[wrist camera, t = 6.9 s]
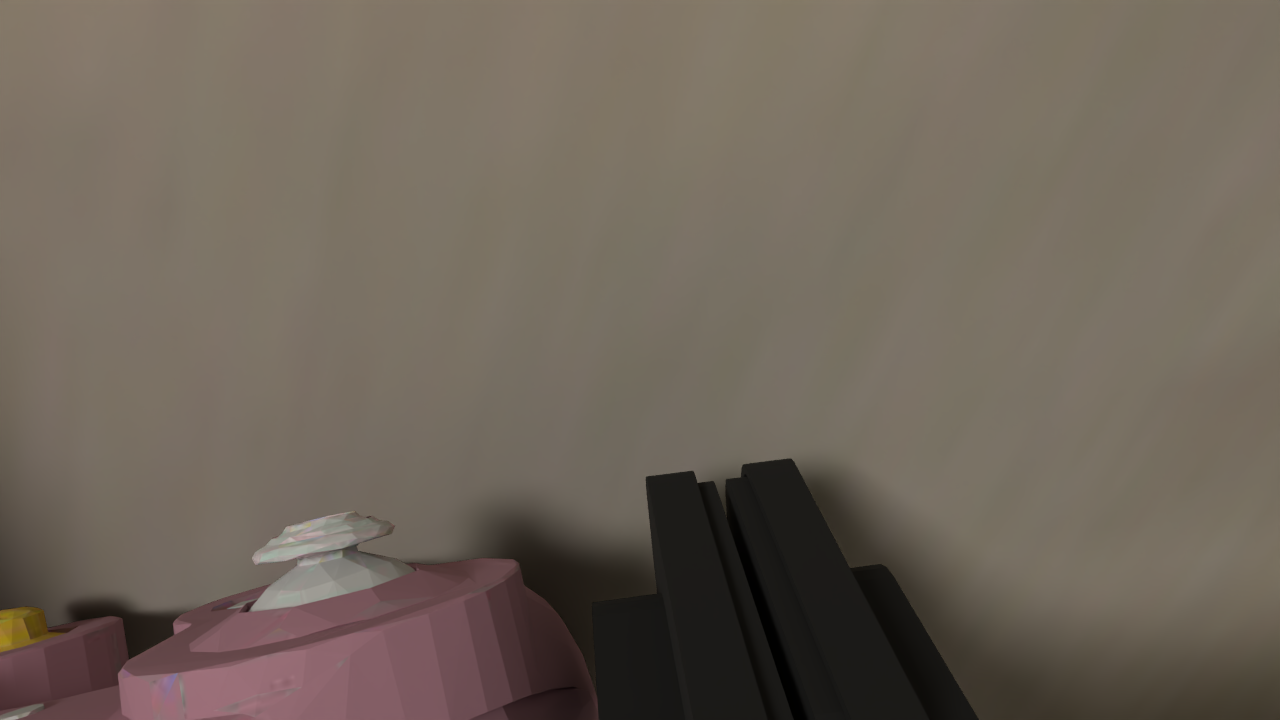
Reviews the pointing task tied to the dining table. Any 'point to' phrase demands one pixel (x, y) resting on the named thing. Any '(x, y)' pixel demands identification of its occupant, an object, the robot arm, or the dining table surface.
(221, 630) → the video game controller
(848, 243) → the dining table surface
